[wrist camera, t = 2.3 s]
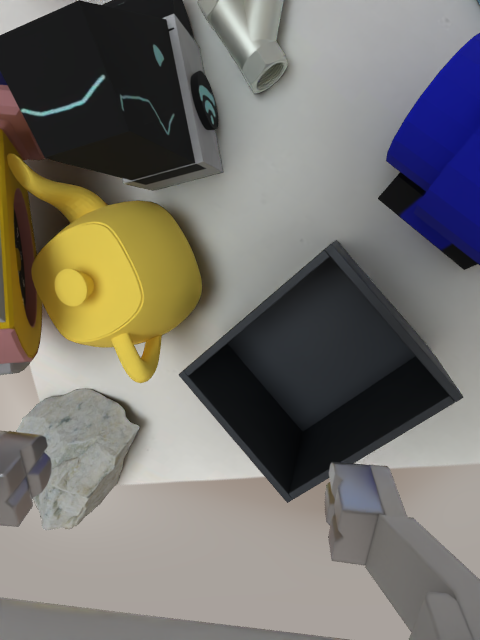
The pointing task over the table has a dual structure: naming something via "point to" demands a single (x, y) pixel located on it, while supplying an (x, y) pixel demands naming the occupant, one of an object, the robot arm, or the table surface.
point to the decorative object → (116, 90)
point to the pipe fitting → (249, 37)
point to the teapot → (112, 271)
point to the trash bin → (319, 375)
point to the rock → (79, 453)
